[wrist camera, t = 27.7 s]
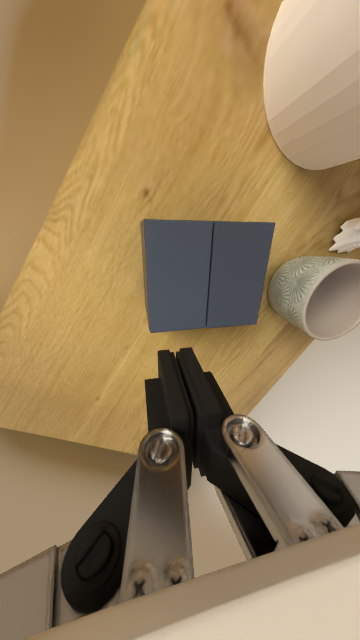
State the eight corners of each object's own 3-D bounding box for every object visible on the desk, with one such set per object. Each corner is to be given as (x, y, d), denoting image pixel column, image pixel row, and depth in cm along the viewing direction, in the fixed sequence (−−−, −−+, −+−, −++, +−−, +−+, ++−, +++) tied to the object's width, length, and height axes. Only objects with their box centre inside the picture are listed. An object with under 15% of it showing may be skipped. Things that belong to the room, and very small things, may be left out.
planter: (288, 323, 43) (334, 351, 33) (247, 297, 38) (286, 320, 28) (329, 273, 40) (392, 287, 30) (290, 237, 35) (350, 240, 25)
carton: (145, 305, 35) (149, 333, 26) (140, 222, 29) (143, 218, 20) (226, 301, 38) (256, 324, 28) (235, 224, 32) (276, 222, 23)
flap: (150, 331, 26) (150, 333, 26) (144, 219, 21) (144, 219, 20) (204, 326, 27) (205, 328, 27) (211, 221, 22) (213, 221, 22)
